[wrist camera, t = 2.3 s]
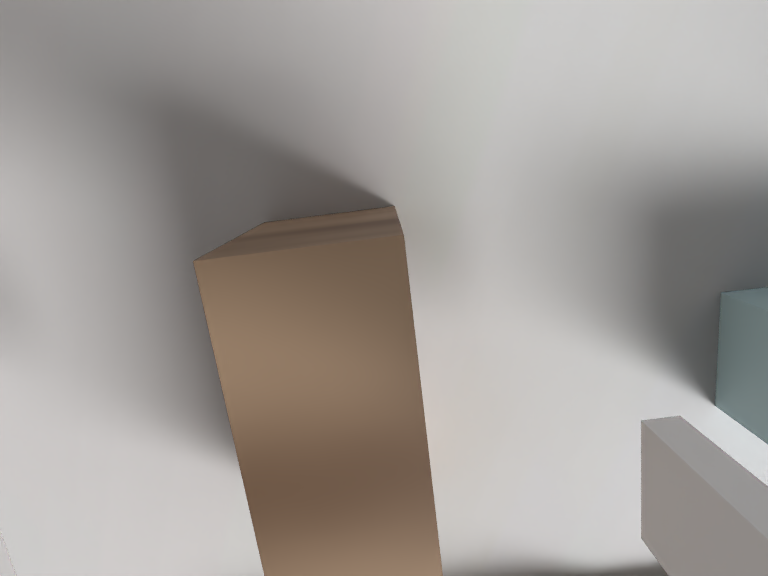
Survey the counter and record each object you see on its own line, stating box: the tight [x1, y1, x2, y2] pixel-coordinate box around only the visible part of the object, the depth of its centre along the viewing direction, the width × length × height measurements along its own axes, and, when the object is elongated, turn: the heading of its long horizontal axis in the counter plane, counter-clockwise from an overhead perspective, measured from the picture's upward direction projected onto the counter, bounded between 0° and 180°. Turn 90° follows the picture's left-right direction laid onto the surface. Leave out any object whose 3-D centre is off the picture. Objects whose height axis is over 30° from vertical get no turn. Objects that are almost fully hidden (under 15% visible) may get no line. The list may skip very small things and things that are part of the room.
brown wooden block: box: [193, 206, 443, 576], centre depth 13 cm, size 10×4×6 cm, turn 7°
